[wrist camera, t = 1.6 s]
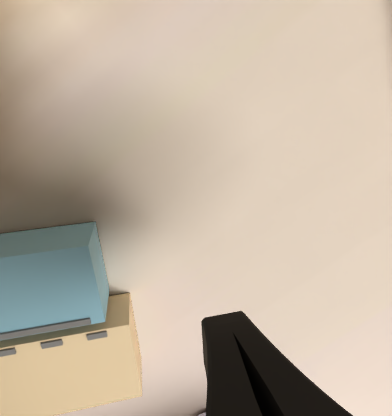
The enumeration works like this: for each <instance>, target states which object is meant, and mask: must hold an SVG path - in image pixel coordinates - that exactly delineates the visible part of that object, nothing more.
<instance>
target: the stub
mask: <svg viewBox="0 0 392 416" xmlns="http://www.w3.org/2000/svg"><path fill="white" fill-rule="evenodd" d="M108 297H109V285H108V280H107V275H106V271H105V266H104V261H103V256H102V251H101V246H100V241H99V236H98V232H97V227H96V222H89V223H82V224H74V225H66V226H58V227H50V228H42V229H34V230H26V231H18V232H10V233H2V234H0V341H1V340H7V339H12V338H18V337H24V336H29V335H35V334H40V333H46V332H52V331H57V330H63V329H68V328H74V327H80V326H85V325H91V324H96V323H102V322H105V320H106V312H107V304H108Z"/></svg>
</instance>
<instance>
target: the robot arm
mask: <svg viewBox="0 0 392 416" xmlns="http://www.w3.org/2000/svg"><path fill="white" fill-rule="evenodd" d="M202 338H203V355H204V365H205V370H206V376H207V402H206V413H202V414H199V415H198V416H353V415H351V414H350V413H349V412H348V411H346V410H345V409H344V408H343V407H341V406H340V405H339V404H338V403H336V402H335V401H334V400H333V399H332V398H330V397H329V396H328V395H327V394H326V393H324V392H323V391H322V390H321V389H320V388H319V387H318V386H316V385H315V384H314V383H313V382H312V381H311V380H310V379H308V378H307V377H306V376H305V375H304V374H303V373H302V372H301V371H300V370H299V369H298V368H296V367H295V366H294V365H293V364H292V363H291V362H290V361H289V360H288V359H287V358H286V357H285V356H284V355H283V354H282V353H281V352H280V351H279V350H278V349H277V348H276V347H275V346H274V345H273V344H272V343H271V342H270V341H269V340H268V339H267V338H266V337H265V336H264V335H263V334H262V332H261V331H260V330H259V329H258V328H257V327H256V326H255V325H254V324H253V323H252V322H251V320H250V319H249V318H248V317H247V316H246V315H245V314H244V313H243V312H242V311H238V312H233V313H228V314H222V315H217V316H212V317H206V318H204V319H203V320H202Z"/></svg>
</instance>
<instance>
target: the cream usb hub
mask: <svg viewBox="0 0 392 416" xmlns="http://www.w3.org/2000/svg"><path fill="white" fill-rule="evenodd" d="M140 396H142V369H141V355H140V349H139V343H138V337H137V332H136V326H135V320H134V314H133V309H132V303H131V297H130V293H125V294H119V295H113V296H109V297H108V304H107V312H106V320H105V322H102V323H96V324H91V325H85V326H80V327H74V328H68V329H63V330H57V331H52V332H46V333H40V334H35V335H29V336H24V337H18V338H12V339H7V340H1V341H0V416H55V415H59V414H64V413H68V412H73V411H77V410H82V409H86V408H91V407H95V406H100V405H104V404H109V403H113V402H118V401H122V400H127V399H131V398H136V397H140Z"/></svg>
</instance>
